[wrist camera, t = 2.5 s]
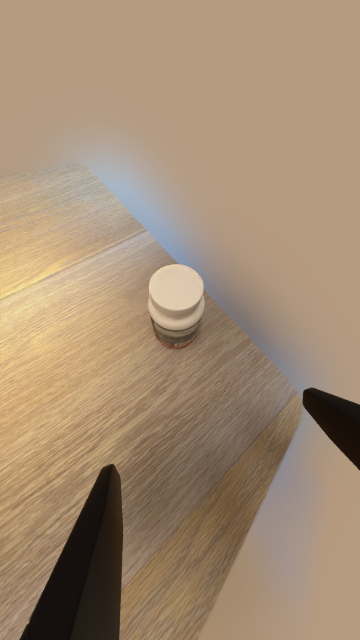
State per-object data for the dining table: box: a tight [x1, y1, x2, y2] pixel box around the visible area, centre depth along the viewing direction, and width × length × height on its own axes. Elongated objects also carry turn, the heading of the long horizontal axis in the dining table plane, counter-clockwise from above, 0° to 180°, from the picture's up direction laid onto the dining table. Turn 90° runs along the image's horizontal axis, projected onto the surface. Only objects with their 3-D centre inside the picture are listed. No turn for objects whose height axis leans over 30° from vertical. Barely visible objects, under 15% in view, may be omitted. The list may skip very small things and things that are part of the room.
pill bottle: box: [148, 264, 205, 348], centre depth 20 cm, size 6×6×10 cm
